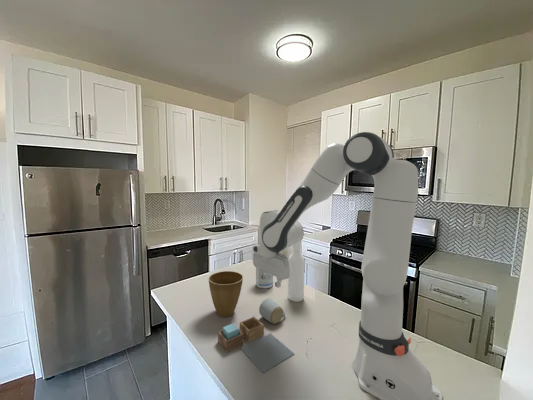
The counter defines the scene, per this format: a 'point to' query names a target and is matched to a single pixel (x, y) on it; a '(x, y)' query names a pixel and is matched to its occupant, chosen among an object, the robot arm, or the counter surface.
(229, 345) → the brown wooden square tray
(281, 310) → the ceramic mug
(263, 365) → the slate mat
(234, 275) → the plant pot
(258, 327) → the light wooden open box
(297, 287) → the bottle
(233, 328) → the light blue block
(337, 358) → the counter surface
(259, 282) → the supplement tub
